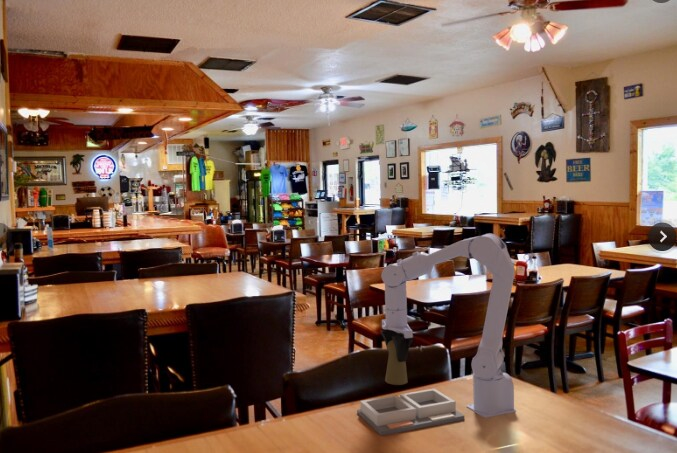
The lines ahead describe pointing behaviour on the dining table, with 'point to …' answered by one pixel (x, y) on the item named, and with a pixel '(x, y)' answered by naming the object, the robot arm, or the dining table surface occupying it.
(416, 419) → the caddy
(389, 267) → the robot arm
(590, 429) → the dining table surface
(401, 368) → the cork
